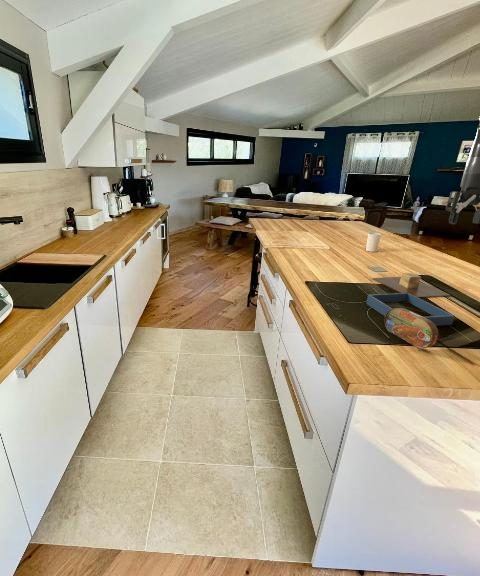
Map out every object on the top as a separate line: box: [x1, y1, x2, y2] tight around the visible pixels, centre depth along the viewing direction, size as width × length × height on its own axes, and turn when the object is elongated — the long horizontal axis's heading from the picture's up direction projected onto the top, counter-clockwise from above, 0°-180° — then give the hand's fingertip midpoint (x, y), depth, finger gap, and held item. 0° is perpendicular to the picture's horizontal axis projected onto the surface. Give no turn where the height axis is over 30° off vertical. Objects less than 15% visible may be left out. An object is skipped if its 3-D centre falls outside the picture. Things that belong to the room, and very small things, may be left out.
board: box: [372, 276, 452, 299], centre depth 125 cm, size 16×22×2 cm
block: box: [399, 272, 422, 288], centre depth 124 cm, size 5×5×5 cm
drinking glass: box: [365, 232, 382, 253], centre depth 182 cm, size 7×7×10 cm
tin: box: [384, 307, 439, 350], centre depth 88 cm, size 15×3×8 cm, turn 13°
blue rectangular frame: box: [365, 292, 455, 327], centre depth 103 cm, size 15×19×4 cm
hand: (464, 223), depth 105 cm, fingers open, 8 cm apart
